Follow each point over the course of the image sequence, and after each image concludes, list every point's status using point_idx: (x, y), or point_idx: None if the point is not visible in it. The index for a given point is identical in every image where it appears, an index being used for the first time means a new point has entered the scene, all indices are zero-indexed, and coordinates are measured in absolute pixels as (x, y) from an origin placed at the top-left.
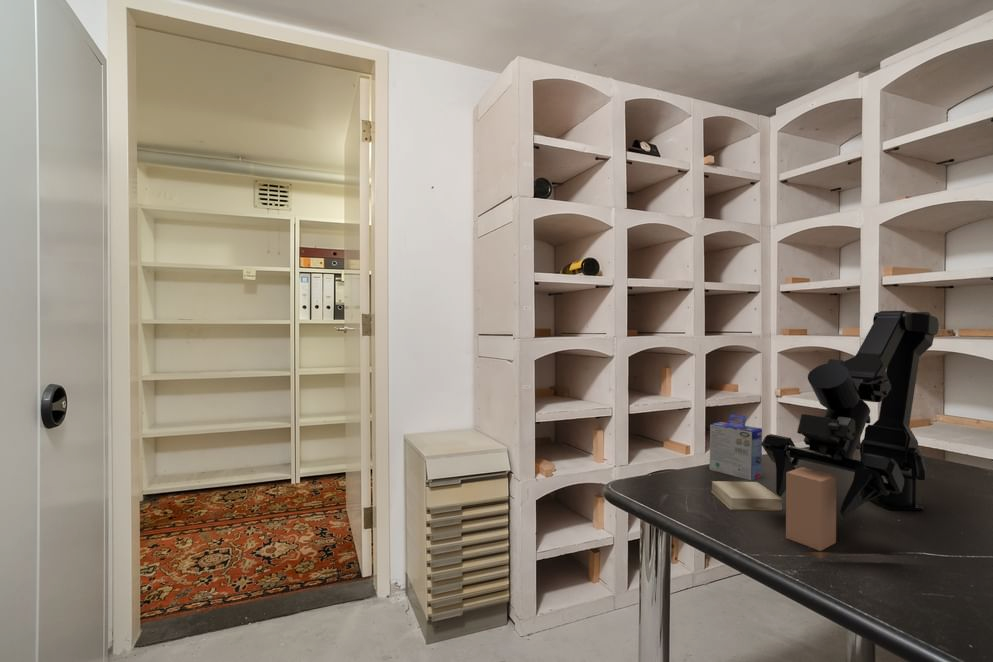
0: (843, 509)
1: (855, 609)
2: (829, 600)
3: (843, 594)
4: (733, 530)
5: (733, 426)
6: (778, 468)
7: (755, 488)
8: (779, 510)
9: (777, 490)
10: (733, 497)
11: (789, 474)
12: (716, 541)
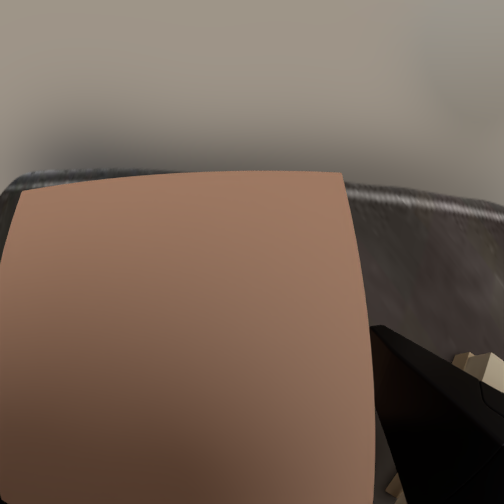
0: None
1: (77, 181)
2: (110, 170)
3: None
4: (398, 282)
5: None
6: (501, 403)
7: None
8: (396, 494)
9: (382, 328)
10: (492, 360)
11: (303, 178)
12: (366, 192)
